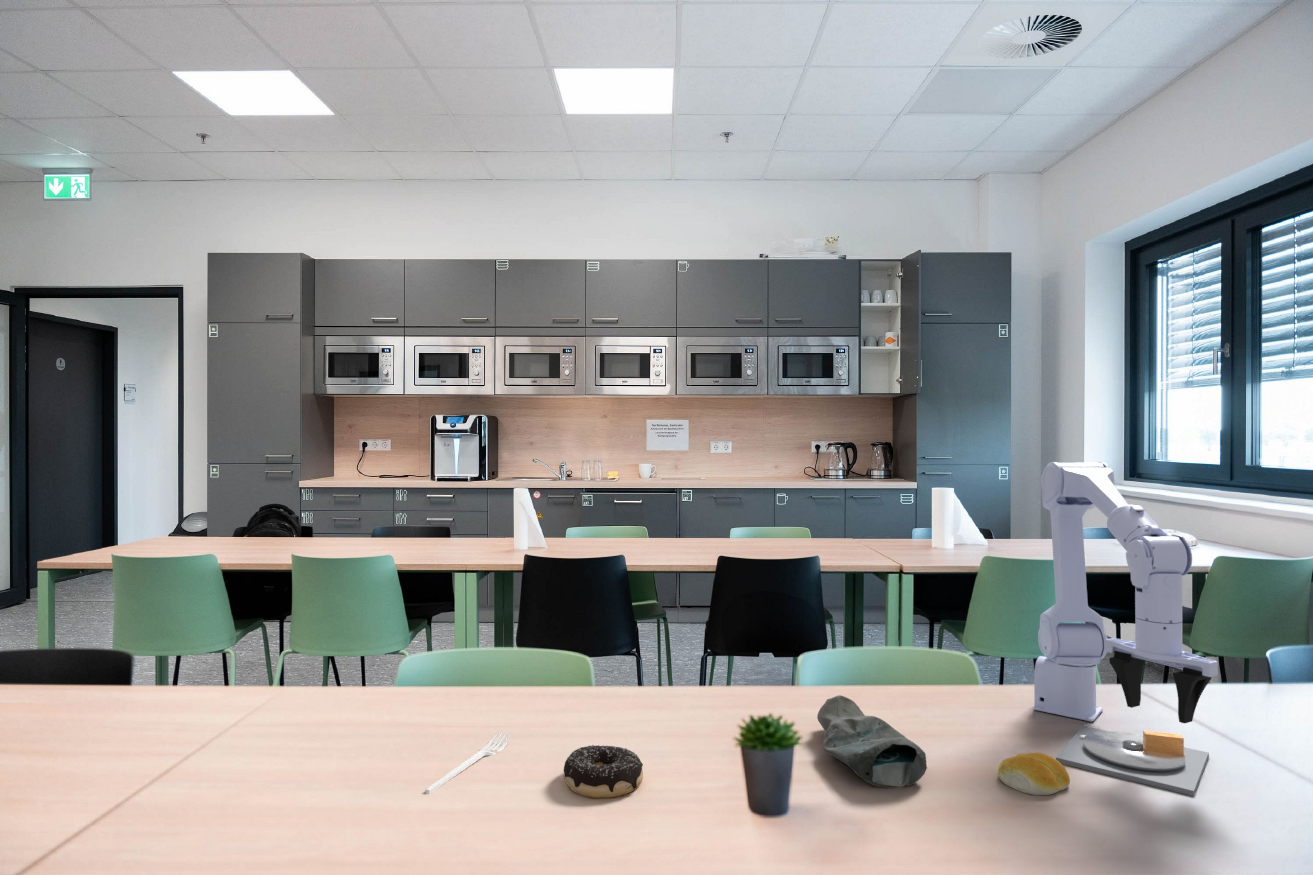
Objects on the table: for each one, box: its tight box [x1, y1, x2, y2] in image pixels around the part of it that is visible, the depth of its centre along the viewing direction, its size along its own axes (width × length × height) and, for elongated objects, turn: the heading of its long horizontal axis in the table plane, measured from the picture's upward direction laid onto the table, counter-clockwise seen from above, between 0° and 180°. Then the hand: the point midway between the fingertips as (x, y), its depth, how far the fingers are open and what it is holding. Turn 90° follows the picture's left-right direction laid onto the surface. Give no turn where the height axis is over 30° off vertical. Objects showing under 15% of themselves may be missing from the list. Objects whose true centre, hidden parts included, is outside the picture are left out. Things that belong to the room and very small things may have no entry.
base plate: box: [1055, 725, 1210, 797], centre depth 117 cm, size 17×17×1 cm
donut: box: [563, 744, 644, 799], centre depth 109 cm, size 11×12×4 cm
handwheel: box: [1083, 729, 1185, 771], centre depth 117 cm, size 13×13×3 cm
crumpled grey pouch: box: [816, 695, 928, 789], centre depth 118 cm, size 13×7×25 cm
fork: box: [424, 730, 512, 795], centre depth 115 cm, size 3×20×2 cm, turn 160°
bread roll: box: [997, 752, 1071, 796], centre depth 109 cm, size 8×9×4 cm
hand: (1158, 713), depth 112 cm, fingers open, 7 cm apart
